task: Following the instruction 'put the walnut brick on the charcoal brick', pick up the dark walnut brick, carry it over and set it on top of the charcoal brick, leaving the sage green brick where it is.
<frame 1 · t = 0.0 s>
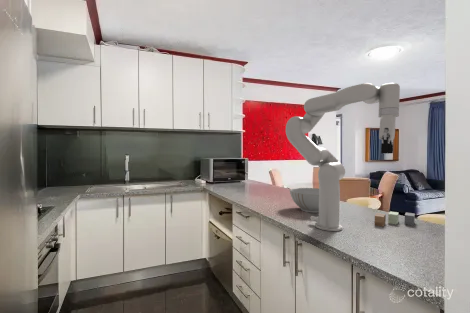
hand: (387, 153, 113), 37 cm above the worktop, tool pointing down, fingers open, 9 cm apart
decorative bowl: (311, 210, 164), on the worktop
charcoal brick: (409, 223, 138), on the worktop
sage brick: (393, 222, 139), on the worktop
walnut brick: (380, 224, 135), on the worktop
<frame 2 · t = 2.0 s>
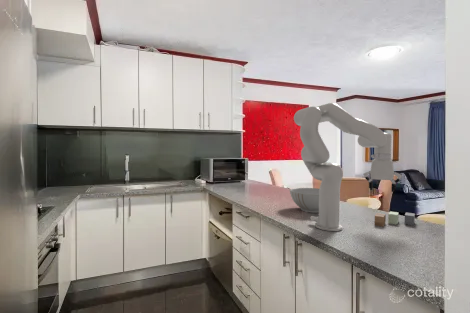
hand: (381, 190, 135), 17 cm above the worktop, tool pointing down, fingers open, 9 cm apart
nothing on the worktop moved.
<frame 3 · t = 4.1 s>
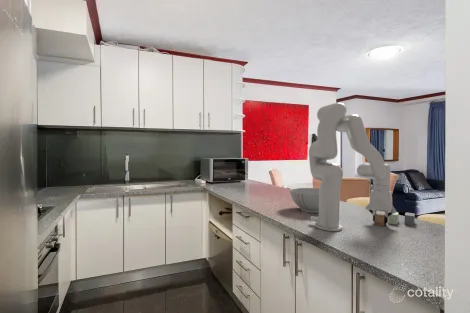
hand: (380, 223, 135), 1 cm above the worktop, tool pointing down, fingers closed on walnut brick, 3 cm apart
walnut brick: (380, 223, 136), on the worktop, tilted 5°, touching gripper
everything else where it was.
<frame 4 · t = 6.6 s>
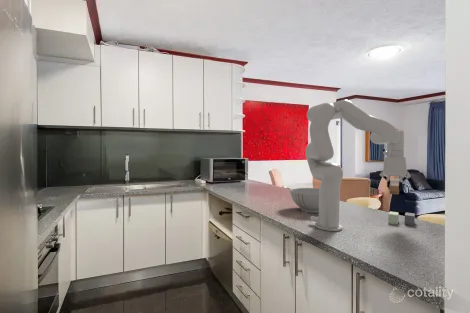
hand: (394, 188, 136), 18 cm above the worktop, tool pointing down, fingers closed on walnut brick, 4 cm apart
walnut brick: (394, 190, 137), point 17 cm above the worktop, tilted 25°, touching gripper
everything else where it was.
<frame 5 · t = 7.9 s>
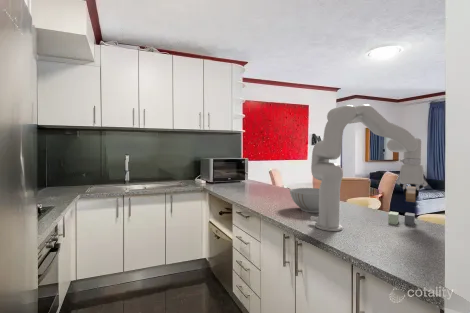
hand: (410, 196, 137), 14 cm above the worktop, tool pointing down, fingers closed on walnut brick, 4 cm apart
walnut brick: (411, 198, 139), point 13 cm above the worktop, tilted 25°, touching gripper
everything else where it was.
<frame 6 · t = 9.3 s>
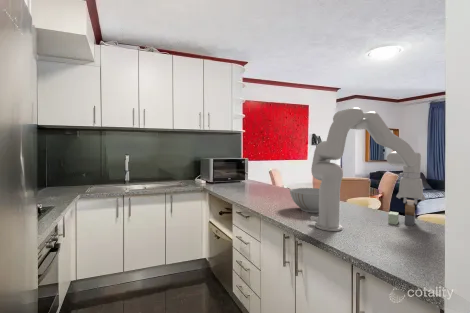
hand: (410, 210, 137), 7 cm above the worktop, tool pointing down, fingers closed on walnut brick, 2 cm apart
walnut brick: (410, 211, 138), point 6 cm above the worktop, tilted 20°, touching gripper
everything else where it was.
when the fingers open (7 cm above the worktop, at t = 9.4 s): walnut brick drops 1 cm, resting on charcoal brick.
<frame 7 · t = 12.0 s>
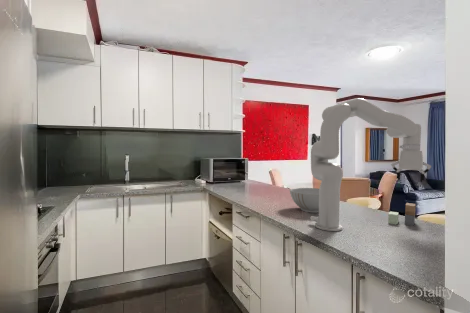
hand: (409, 180, 137), 22 cm above the worktop, tool pointing down, fingers open, 9 cm apart
charcoal brick: (409, 223, 138), on the worktop, touching walnut brick
walnut brick: (410, 213, 138), point 5 cm above the worktop, touching charcoal brick
everything else where it was.
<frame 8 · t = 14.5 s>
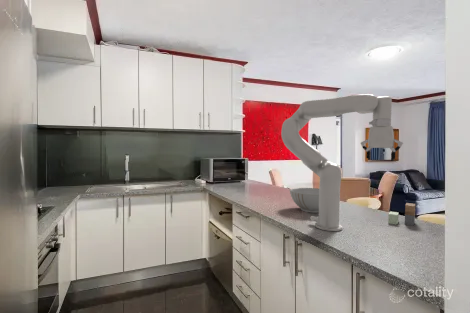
hand: (380, 160, 123), 33 cm above the worktop, tool pointing down, fingers open, 9 cm apart
nothing on the worktop moved.
at the end: walnut brick 0.2 cm off-centre on the charcoal brick, point 5.0 cm above the charcoal brick's base; walnut brick tilted 0°; sage brick moved 0.2 cm from its start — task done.
